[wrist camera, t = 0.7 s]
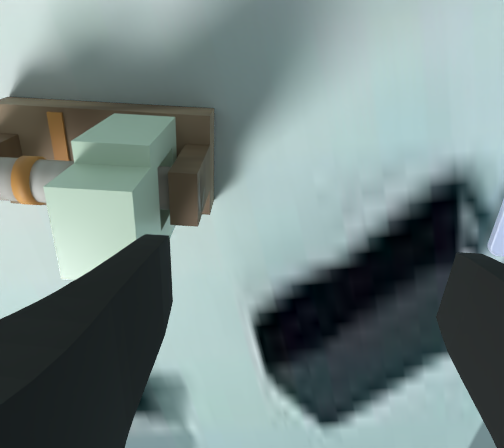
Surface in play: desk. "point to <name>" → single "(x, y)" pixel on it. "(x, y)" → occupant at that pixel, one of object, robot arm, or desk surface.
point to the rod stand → (84, 118)
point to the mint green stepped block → (110, 190)
